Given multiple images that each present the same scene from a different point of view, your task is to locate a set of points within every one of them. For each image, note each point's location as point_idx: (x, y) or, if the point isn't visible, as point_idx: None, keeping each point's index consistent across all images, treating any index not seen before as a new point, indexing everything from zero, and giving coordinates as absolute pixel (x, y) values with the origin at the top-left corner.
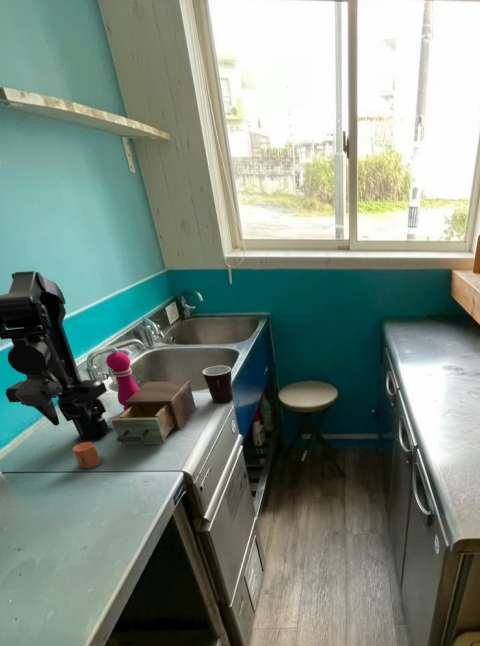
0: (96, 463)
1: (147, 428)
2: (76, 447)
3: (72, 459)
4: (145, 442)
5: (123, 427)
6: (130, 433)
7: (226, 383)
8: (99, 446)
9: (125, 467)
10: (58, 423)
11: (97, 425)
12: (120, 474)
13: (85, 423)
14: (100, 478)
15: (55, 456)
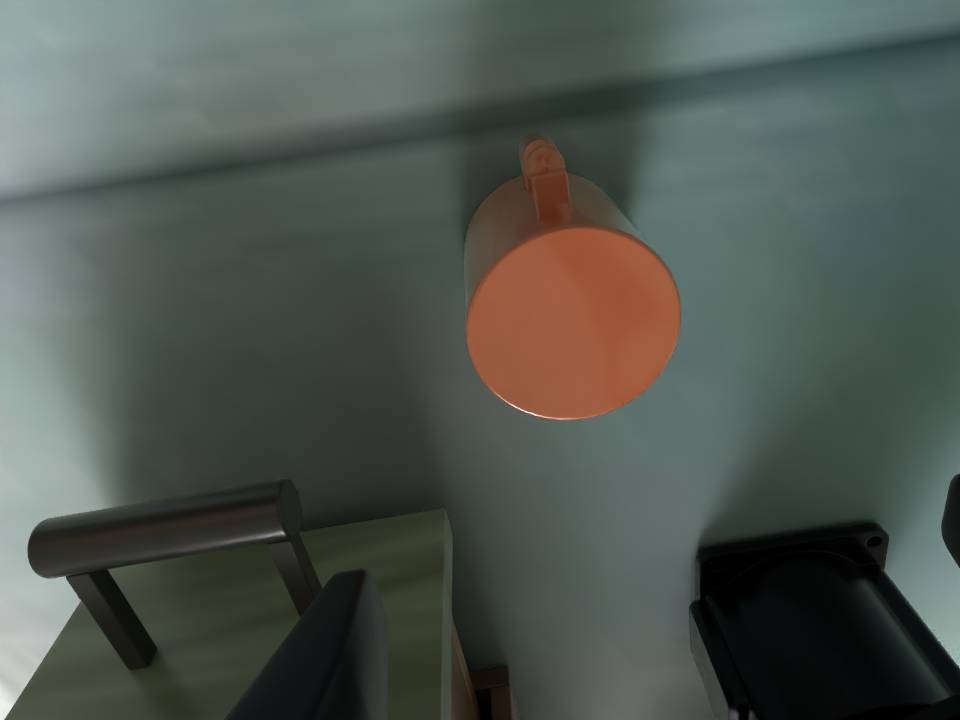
0: (465, 241)
1: (126, 681)
2: (640, 302)
3: (759, 287)
4: (241, 552)
5: None
6: None
7: None
8: (646, 480)
9: (180, 243)
10: (952, 533)
11: (740, 669)
12: (123, 127)
13: (347, 591)
14: (260, 27)
15: (941, 306)
